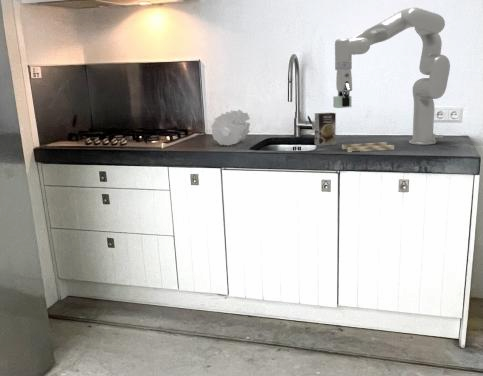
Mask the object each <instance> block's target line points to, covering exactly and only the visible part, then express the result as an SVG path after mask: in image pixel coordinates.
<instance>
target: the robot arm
mask: <svg viewBox="0 0 483 376" xmlns="http://www.w3.org/2000/svg"><path fill="white" fill-rule="evenodd" d="M445 26H446V21H445V19H444V17H443V15H441V14H439V13H435V12H431V11H429V10H427V9H422V8H419V7H411V8H410V7H409V8H405V9H402V10H400V11H398V12H397V13H394V14H393V15H391V16H389V17H388V18H386V19H384V20H383V21H380V22H378V23H377V24H375V25H373V26H371V27H370V28H367V29H365V30H364V31H362V32H359V33H357V34H356V35H354V36H352V37H351V38H338V39H336V40H335V41H334V68H335V69H334V70H335V71H336V80H335V82H336V83H335V84H336V85H335V86H336V91H337V96H343V98H342V106H343V107H345V106H349V97H350V96H351V95H350V92H352V91H353V77H352V66H353V65H352V64H353V63H352V62H353V58H352V56H354V55H364V54H366V53H367V52H368V51H369V50H370V48H371V46H372V45H374V44H377V43H382V42H385V41H387V40H389V39H392V38H393V37H395V36H396V35H398V34H399V33H402V32H403V31H405V30H407V29H409V28H414V31H415V32H416V34H417V35H418V36H419V37H420V39H421V41H422V48H421V49H422V50H421V56H420V61H419V72H420V73H421V74H422V75H425V76H429V77H422V78H418V79H417V80H416V81H415V82H414V83H413V85H412V97H413V117H412V118H413V119H412V120H413V121H412V123H413V124H412V139H410V140H409V141H408V142H409V144H411V145H418V146H419V145H420V146H422V145H423V146H425V145H426V146H428V145H429V146H430V145H435V144H436V143H437V139H438V140H440V139H443V137H444V136H443V134H436V133H434V123H435V122H434V121H435V101H434V100H436V99H437V100H438V99H440V98H442V97H443V96H444V94H445V93H446V91H447V90H446V89H447V86H448V79H449V76H450V71H451V70H450V69H451V64H450V60H449V58H448V57H447V56H446V55H444V54H441V53H442V46H443V45H442V44H443V43H442V38H441V35H440V33H441V32H442V31H443V30H444V29H445Z"/></svg>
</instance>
